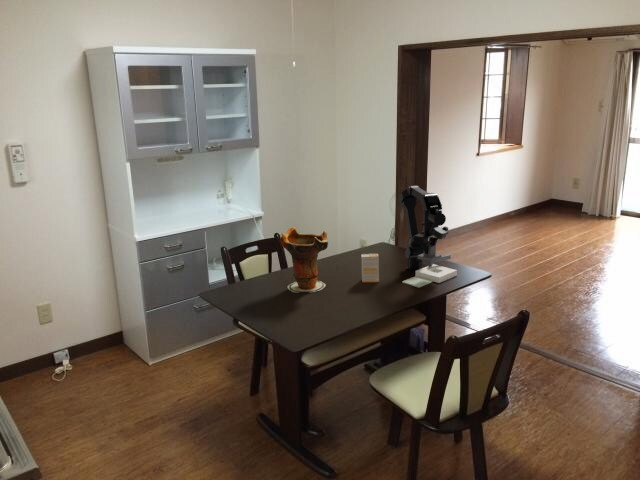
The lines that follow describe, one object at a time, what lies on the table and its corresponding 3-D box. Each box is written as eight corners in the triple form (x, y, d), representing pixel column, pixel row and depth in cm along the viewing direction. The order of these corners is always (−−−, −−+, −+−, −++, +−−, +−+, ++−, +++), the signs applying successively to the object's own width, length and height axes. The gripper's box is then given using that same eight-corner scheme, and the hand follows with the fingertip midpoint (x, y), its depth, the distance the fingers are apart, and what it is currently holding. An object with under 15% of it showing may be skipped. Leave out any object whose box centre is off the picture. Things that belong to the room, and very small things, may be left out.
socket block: (415, 276, 263) (415, 270, 262) (433, 269, 272) (433, 264, 271) (439, 283, 253) (439, 277, 252) (456, 276, 262) (457, 270, 261)
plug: (417, 263, 257) (417, 246, 255) (427, 259, 263) (427, 242, 260) (431, 267, 252) (431, 249, 249) (441, 263, 257) (441, 245, 255)
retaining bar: (429, 266, 267) (429, 259, 266) (427, 265, 268) (427, 258, 267) (450, 262, 272) (451, 255, 271) (448, 261, 274) (448, 254, 273)
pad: (402, 283, 256) (402, 281, 256) (415, 277, 262) (415, 276, 262) (418, 288, 248) (418, 286, 248) (432, 282, 255) (432, 281, 254)
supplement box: (379, 279, 262) (378, 253, 259) (379, 282, 258) (378, 256, 254) (361, 279, 263) (361, 253, 259) (361, 282, 258) (361, 256, 255)
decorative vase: (328, 294, 244) (322, 234, 237) (279, 295, 249) (272, 236, 242) (336, 279, 263) (331, 223, 256) (290, 280, 268) (284, 225, 261)
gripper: (432, 227, 240) (431, 261, 244) (456, 219, 252) (455, 251, 256) (412, 223, 248) (411, 256, 252) (436, 216, 260) (435, 247, 264)
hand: (429, 252), depth 256 cm, fingers closed on plug, 4 cm apart
